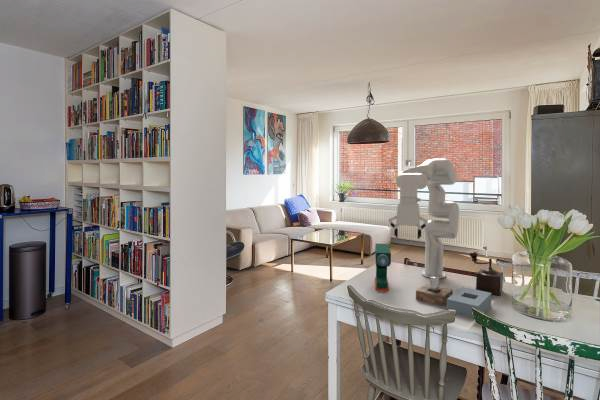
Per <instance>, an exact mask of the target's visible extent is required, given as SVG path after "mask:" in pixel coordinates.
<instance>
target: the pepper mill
mask: <svg viewBox="0 0 600 400" xmlns="http://www.w3.org/2000/svg"><path fill="white" fill-rule="evenodd" d="M478 256H479V254H478V252H476V251H471V252H469V257H470V258H471V261H472V262H473V263H474V264H475V265H476V264H477V265H487V264H488V267H487V268H485V269H484V268H483V269H482V268H481V269H480V270H478V272H477V273H476V275H475V276H476V279H475V280H476V282H475V283H476V284H475V290H480V291H484V292H489V293H491V297H493V296H494V297H498V296H499V297H500V296H501V295H502V294H503V283H504V272H501V271H497V270H496V269H494V268H493V267H492V264H493V260H492V258H489V259H488V261H486V262H485V261H483V262H482V261H481V262H480V261H479V262H478ZM501 293H502V294H501Z"/></svg>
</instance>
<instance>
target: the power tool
mask: <svg viewBox="0 0 600 400" xmlns="http://www.w3.org/2000/svg"><path fill="white" fill-rule="evenodd" d="M374 256H375V268H376V269H375V277H374V287H375V289H374V290H375V291H380V290H382V292H389V291H390V287H389V281H388V267H390V266H391V265H392V261H391V260H392V252H391V249H390V248H389V244H388V243H376V242H375V251H374Z"/></svg>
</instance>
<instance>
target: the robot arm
mask: <svg viewBox="0 0 600 400" xmlns="http://www.w3.org/2000/svg"><path fill="white" fill-rule="evenodd" d="M457 180H458V174H457V171H456V169H455V166H454V164H453V163H452V161H451V160H450V159H448V158H429V159H426V160H424V161H423V162H422V163H421V164H419V165H416V166H413V167H408V168H405V169H404V170H402V171H400V172H399V173H398V174H397V176H396V179H395V185H396V187H397V188H398V189H399V203H397V207H396V208H397V209H396V215H394V216H392V217H390V218H389V219H388V223H389V224H390V226H391V227H392V229H394V231H393V232H394V234H393V235H394V236H395V238H396V239H397V238H398V237H399V236H398V235H399V234H398V230H399V229H398V227H400V226H408V227H409V226H410V227H411V226H412V227H413V226H414V227H417V240H420V238H421V237H422V230H423V231H424V241H425V242H424V243H425V244H424V245H425V246H424V251H425V252H424V270H423V271H421V276H423V277H424V278H425V277H426V278H427V279H428V278H430V277H431V276H437V277H439V279H444V278H446V276H447V275H446V273H445V272H443V270H444V243H443V241H442V240H441V239H448V240H449V239H451V240H453V239H454V240H455V239H456V238H457V237H458V235H459V233H458V232H459V222H460V221H459V219H460V207H459V203H457V202H455V201H450V200H449V201H448V200H447V201H446V190H445V189H444V187H443V185H444V186H452V185H455V184H456V183H457ZM425 188H427V189H428V190H427V191H428V194H429V195H428V206H427V207H428V209H427V213H428V215H429V217H431V218H437V219H429V220H428V219H426V218H425V217H422V216H421V215H420V214H421V213H420V212H421V211H420V206H419V203H418V202H421V198H420V197H418V190H422V189H423V190H424V189H425ZM439 219H441V220H439ZM442 219H447V220H442ZM394 220H396V224H395V223H394V222H393V221H394ZM421 221H422V222H423V224H422V225H420V222H421Z"/></svg>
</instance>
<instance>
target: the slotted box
mask: <svg viewBox="0 0 600 400" xmlns="http://www.w3.org/2000/svg"><path fill="white" fill-rule="evenodd" d="M472 307H475V308H476V309H478V310H480V311H482V312H484V314H486V313H487V311H488V310H489V309H490V308H491V307H492V295H491V293H489V292H484V291H480V290H476V288H471V287H465V286H462V287H460V288H459V289H458V290H456V291H455V292H454V293H452V295H451V296H450V297H449V298H447V303H446V310H448V309H454V310H456V313H455V314H458V315H462V316H466V317H470V318H473V314H472Z"/></svg>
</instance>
